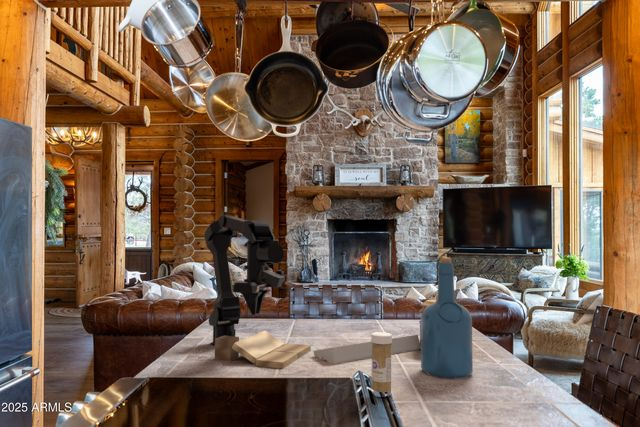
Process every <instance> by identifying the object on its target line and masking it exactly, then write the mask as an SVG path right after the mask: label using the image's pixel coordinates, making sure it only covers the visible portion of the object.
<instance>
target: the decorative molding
mask: <svg viewBox="0 0 640 427" xmlns="http://www.w3.org/2000/svg"><path fill="white" fill-rule="evenodd" d="M419 340H420V337H419V334H415V335H406V336H401V337H400V336H399V337H392V343H391V355H394V354H401V353H406V352H411V351H417V350H419V351H420V350H421V348H420V342H419ZM312 352H313V356H314V358H318V359H319V360H322V361H327V362H328V363H330V364H332V365H340V364H344V363H350V362H356V361H361V360H368V359H372V342H371V341H367V342H360V343H355V344H354V343H353V344H349V345H347V344H346V345H342V346H341V345H340V346H334V347H327V348H322V349H321V348H320V349H315V350H312Z"/></svg>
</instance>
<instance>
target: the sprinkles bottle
mask: <svg viewBox="0 0 640 427" xmlns="http://www.w3.org/2000/svg"><path fill="white" fill-rule="evenodd" d="M392 338H393V334H392V333H389V332H384V331H376V332H372V333H371V339H370V340H371V341H370V342H372V358H371V390H372V389H373V390H375V391H377V392H387V391H390V393H391V395H392V354H391V343H392Z"/></svg>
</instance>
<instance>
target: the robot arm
mask: <svg viewBox="0 0 640 427" xmlns="http://www.w3.org/2000/svg"><path fill="white" fill-rule="evenodd" d="M235 231H236V232H239V233H241V236H242V237H244V238H245V239H246V240H247V241H246V242H245V243H244V244H243V246H244V248H246V250H247V252H246V253H247V254H246V255H247V256H246V265H244V266H243V267H244V270H246V278H245V279H243V281H238V282H237V281H236V282H234V283H233V285H232V281H231V280H232V279H231V273H230V265H229V257H228V256H229V255H228V249H229V247H230V245H231V239H232V238H233V236H234V235H235ZM203 238H204V241H205V243H206V248H207V249H208V250H209V251H210V253H211V255H212V262H213V270H214V277H215V286H216V293H217V294H216V298H215V300H214V303H213V310H212V311H211V314H210V315H209V316H208V324H209V326H212V328H213V329H212V341H211V342H210V343H209V344H210V345H214V346H215V339H216V338H219V337H222V336H235V337H236V329H235V325H238V324H240V319H241V313H242V310H241V308H242V307H241V305H240V297H239V296H235V294H234V293H240V294H241V295H242V298H243V299H244V300H245V303H246V306H247V308H248V310H249V313H250V314H251V315H252V316H256V314H257V315H258V314H260V313H261V309H262V305H263V303H264V300H265V297H266V295H268V293H270V292H271V289H268V288H272V289H275V288H276V289H277V288H282V285H283V283H284V282H285V281H286V279H285V278H286V277H285V271H284V270H281V269H280V270H276V271H272V270H270V266H269V265H268V264H279V263H280V262H281V261H282V260H283V259H284V256H285V250H284V249H283V246H282V245H281V244H279V239H276V236H275V235H274V234H273V230H272V228H271V226H270V225H269V221H267V220H264V221H263V220H247V219H244V218H240V217H237V216H235V215H231V214H230V215H229V214H227V215H226V214H223V215H220V216H219V218H218V219H217V220H215V221H214V222H211V223H210V224H209V225H208V227H207V228H206V230H205V231H204V236H203Z"/></svg>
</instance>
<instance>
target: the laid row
mask: <svg viewBox="0 0 640 427" xmlns="http://www.w3.org/2000/svg"><path fill="white" fill-rule="evenodd" d="M284 344H285V345H283V346H281V347H279V348H277V349H275V350H273V351H272V352H270V353H268V354H266V355H264V356H262V357H260V358H258V359H256V363H255V366H257V367H265V368H274V369H275V368H276V369H285V368H286V367H288V366H290V365H291V364H292V363H293V362H295V361H297V360H299V359H300V358H301V357H303V356H305V355H306V354H307V353H309V352H311V347H312V345H311V344H310V345H309V344H301V343H300V344H299V343H289V342H288V343H284Z"/></svg>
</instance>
